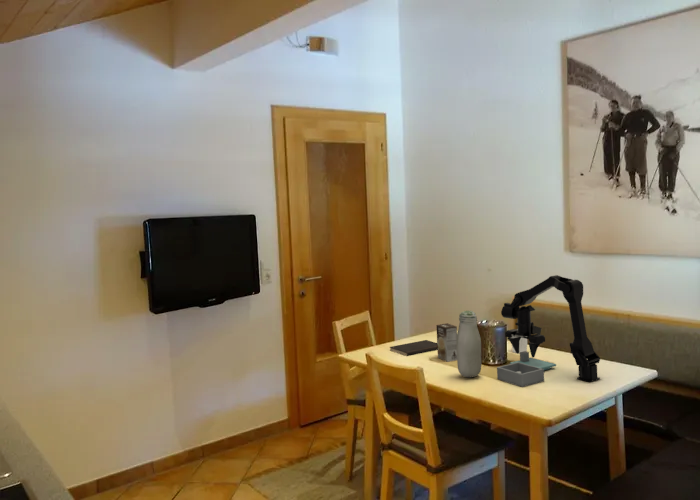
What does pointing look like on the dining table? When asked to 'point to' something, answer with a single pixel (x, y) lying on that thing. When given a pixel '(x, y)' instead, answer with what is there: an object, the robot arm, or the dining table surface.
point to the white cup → (521, 345)
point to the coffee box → (447, 342)
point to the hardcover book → (415, 347)
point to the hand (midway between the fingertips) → (525, 355)
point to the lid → (533, 361)
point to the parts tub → (520, 374)
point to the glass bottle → (468, 345)
